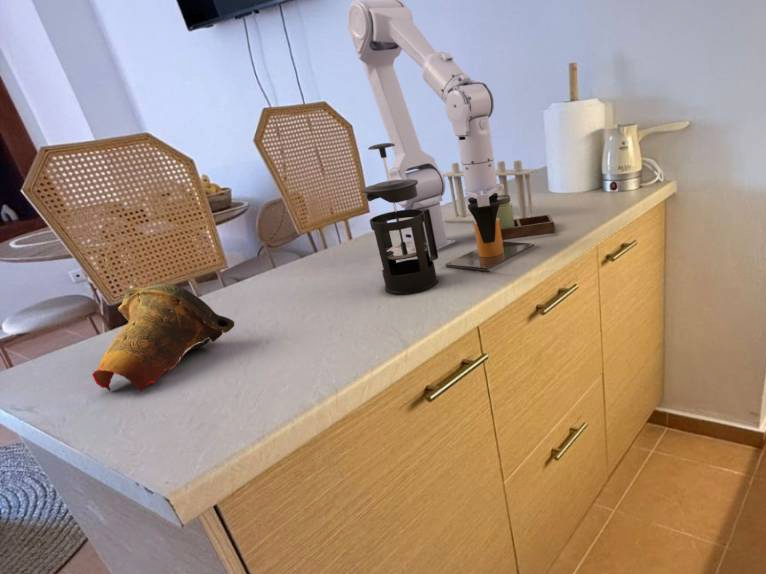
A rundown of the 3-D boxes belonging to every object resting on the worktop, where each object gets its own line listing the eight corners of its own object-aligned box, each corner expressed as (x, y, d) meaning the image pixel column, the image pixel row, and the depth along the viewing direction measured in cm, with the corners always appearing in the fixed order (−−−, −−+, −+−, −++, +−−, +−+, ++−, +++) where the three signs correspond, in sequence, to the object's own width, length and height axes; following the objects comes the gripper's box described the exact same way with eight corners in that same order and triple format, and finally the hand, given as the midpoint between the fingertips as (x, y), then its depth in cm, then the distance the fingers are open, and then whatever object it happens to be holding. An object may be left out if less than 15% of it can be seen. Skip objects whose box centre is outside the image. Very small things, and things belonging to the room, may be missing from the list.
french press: (405, 299, 90) (371, 149, 79) (371, 291, 96) (334, 150, 85) (456, 276, 98) (431, 136, 87) (421, 270, 104) (394, 138, 92)
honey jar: (493, 258, 102) (487, 215, 98) (473, 256, 105) (466, 214, 101) (508, 250, 105) (503, 208, 102) (488, 248, 108) (483, 208, 104)
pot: (24, 341, 67) (116, 253, 79) (67, 397, 76) (144, 310, 87) (163, 373, 67) (235, 280, 79) (190, 425, 76) (251, 335, 88)
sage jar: (506, 239, 114) (501, 200, 110) (488, 237, 117) (482, 199, 113) (520, 232, 117) (515, 194, 113) (501, 231, 120) (497, 194, 116)
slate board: (487, 272, 98) (487, 268, 97) (446, 267, 103) (445, 263, 103) (534, 247, 108) (534, 243, 107) (494, 244, 113) (494, 240, 113)
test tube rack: (447, 221, 137) (437, 165, 131) (458, 216, 140) (448, 161, 134) (532, 224, 124) (525, 162, 118) (542, 219, 127) (536, 158, 121)
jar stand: (487, 244, 114) (486, 231, 113) (486, 235, 120) (485, 223, 119) (555, 235, 114) (554, 221, 113) (550, 226, 120) (549, 214, 119)
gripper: (502, 163, 91) (512, 245, 97) (498, 153, 103) (507, 226, 110) (459, 169, 91) (472, 251, 97) (461, 158, 103) (472, 231, 110)
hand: (488, 238), depth 104 cm, fingers closed on honey jar, 5 cm apart
